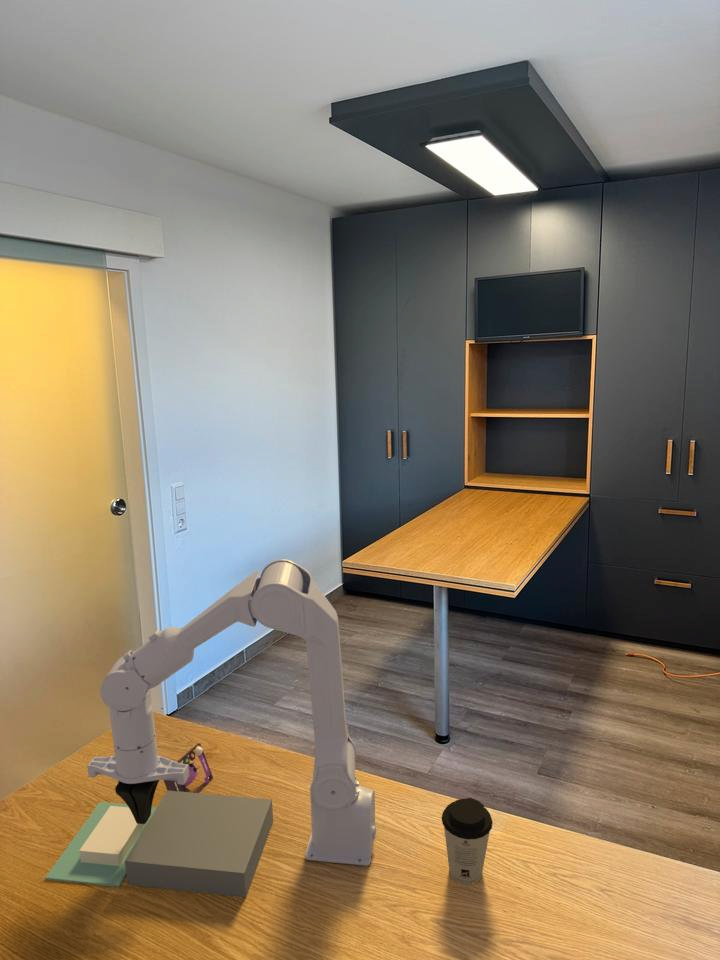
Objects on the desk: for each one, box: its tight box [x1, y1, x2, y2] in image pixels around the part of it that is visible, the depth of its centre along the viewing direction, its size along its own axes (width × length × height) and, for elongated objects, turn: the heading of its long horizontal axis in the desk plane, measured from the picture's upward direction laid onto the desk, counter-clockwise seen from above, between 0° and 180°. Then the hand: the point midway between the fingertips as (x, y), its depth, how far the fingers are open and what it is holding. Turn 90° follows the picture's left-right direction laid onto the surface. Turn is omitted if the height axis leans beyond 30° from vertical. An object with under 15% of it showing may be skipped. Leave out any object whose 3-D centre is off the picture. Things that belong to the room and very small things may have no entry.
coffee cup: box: [441, 797, 494, 885], centre depth 92 cm, size 7×7×10 cm
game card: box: [163, 743, 214, 793], centre depth 110 cm, size 7×5×9 cm
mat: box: [44, 801, 157, 888], centre depth 100 cm, size 11×15×1 cm
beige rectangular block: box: [79, 806, 145, 866], centre depth 99 cm, size 6×9×2 cm, turn 172°
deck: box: [125, 789, 274, 898], centre depth 97 cm, size 17×14×4 cm
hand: (143, 818), depth 98 cm, fingers closed
